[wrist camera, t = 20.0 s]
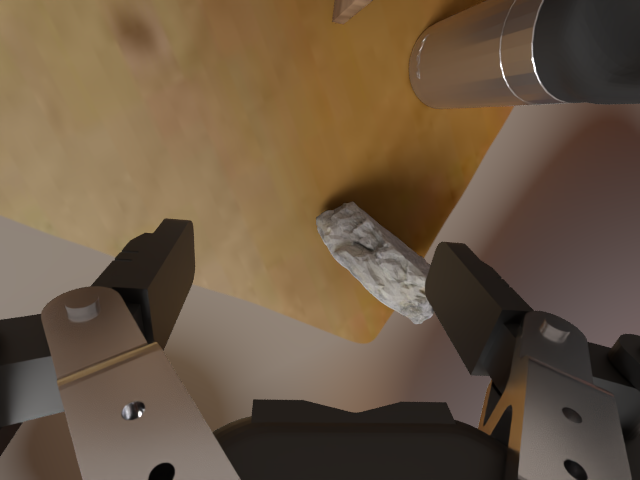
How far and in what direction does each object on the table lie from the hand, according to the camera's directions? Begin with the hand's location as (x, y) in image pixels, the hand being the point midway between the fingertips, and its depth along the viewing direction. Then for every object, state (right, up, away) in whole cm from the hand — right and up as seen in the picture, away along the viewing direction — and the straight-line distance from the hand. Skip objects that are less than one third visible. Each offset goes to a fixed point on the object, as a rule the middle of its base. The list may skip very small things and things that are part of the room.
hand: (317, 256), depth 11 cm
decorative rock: (+6, 0, +34) cm, 34 cm away
